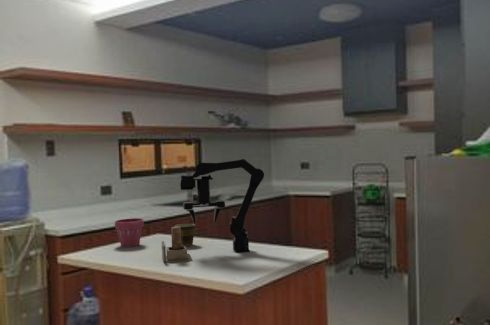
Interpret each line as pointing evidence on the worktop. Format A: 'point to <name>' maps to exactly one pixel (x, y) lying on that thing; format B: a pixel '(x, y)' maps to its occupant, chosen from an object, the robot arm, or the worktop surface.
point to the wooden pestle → (176, 238)
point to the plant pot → (129, 231)
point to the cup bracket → (174, 254)
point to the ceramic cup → (187, 234)
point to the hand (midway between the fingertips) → (204, 223)
